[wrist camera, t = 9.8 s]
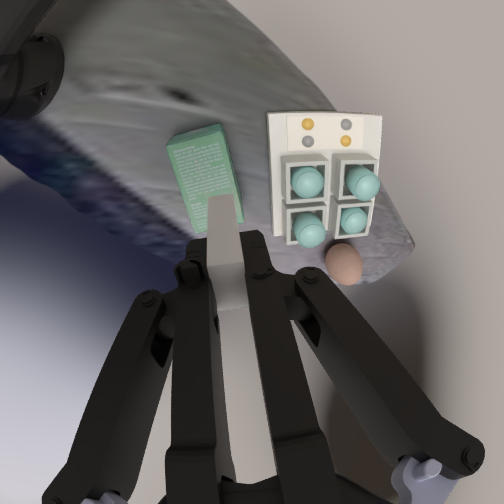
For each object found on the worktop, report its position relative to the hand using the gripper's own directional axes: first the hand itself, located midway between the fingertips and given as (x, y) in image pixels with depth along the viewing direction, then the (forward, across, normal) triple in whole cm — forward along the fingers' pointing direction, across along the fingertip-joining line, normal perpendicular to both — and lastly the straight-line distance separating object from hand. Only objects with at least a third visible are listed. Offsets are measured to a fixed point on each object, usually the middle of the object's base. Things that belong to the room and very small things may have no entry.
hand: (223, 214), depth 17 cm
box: (+25, -2, -5) cm, 26 cm away
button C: (+19, +19, -7) cm, 28 cm away
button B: (+19, +11, -14) cm, 26 cm away
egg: (+24, +19, -24) cm, 39 cm away
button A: (+21, +12, -7) cm, 25 cm away
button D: (+21, +19, -14) cm, 32 cm away
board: (+24, +16, -8) cm, 30 cm away
